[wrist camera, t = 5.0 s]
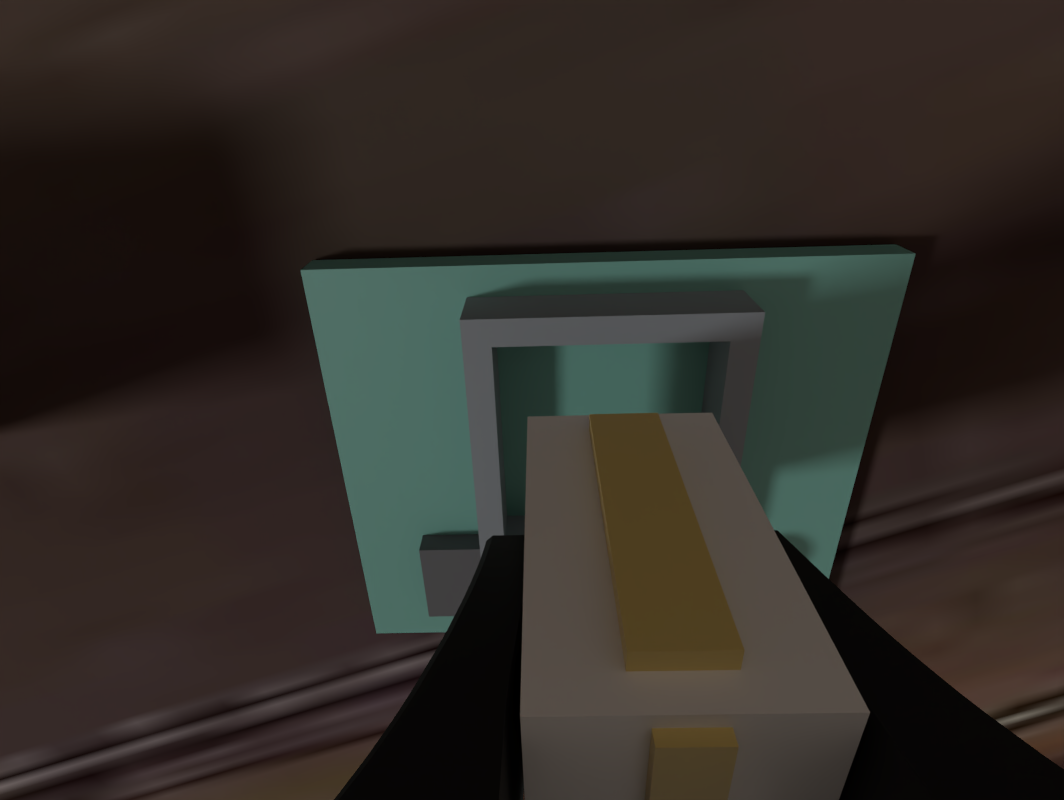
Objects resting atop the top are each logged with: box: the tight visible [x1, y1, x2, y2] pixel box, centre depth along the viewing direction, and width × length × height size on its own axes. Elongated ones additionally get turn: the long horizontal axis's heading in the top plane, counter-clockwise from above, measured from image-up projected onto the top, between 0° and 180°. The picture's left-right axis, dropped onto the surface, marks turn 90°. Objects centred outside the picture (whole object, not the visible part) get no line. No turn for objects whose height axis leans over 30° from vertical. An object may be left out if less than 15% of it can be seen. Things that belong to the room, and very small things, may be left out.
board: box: [301, 244, 916, 633], centre depth 15 cm, size 11×13×2 cm
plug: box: [520, 413, 870, 800], centre depth 9 cm, size 4×3×6 cm
